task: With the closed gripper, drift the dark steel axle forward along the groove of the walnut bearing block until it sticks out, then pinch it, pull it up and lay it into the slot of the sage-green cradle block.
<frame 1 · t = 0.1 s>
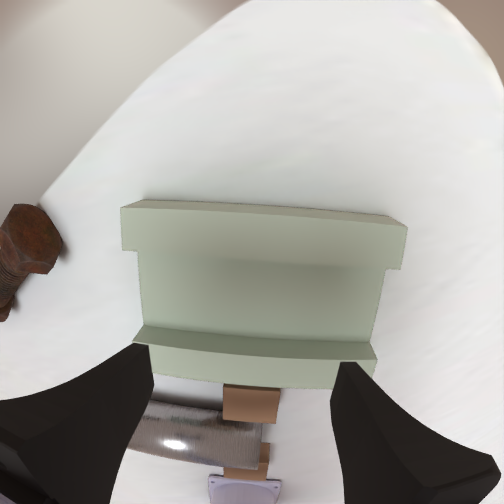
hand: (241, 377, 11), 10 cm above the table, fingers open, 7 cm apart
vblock: (259, 289, 21), on the table
bearing block: (249, 422, 25), on the table
bolt: (17, 271, 23), on the table
axle: (176, 432, 23), point 2 cm above the table
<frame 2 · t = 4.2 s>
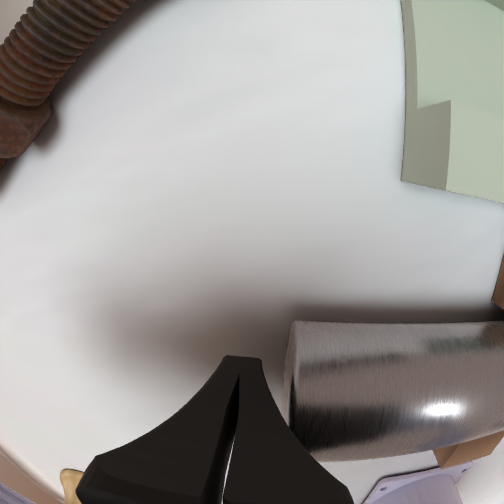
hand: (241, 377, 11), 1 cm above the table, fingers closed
bearing block: (497, 350, 12), on the table
bolt: (77, 55, 10), on the table
axle: (459, 383, 9), point 3 cm above the table, tilted 8°, touching gripper
hand bell: (102, 494, 19), on the table
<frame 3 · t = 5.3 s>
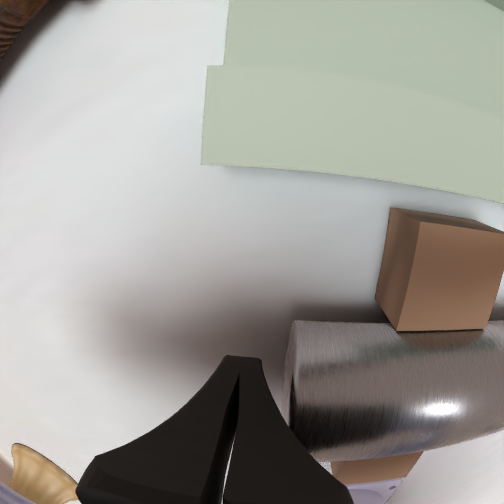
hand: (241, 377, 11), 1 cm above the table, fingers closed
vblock: (442, 50, 8), on the table
bearing block: (400, 358, 12), on the table
axle: (459, 383, 9), point 2 cm above the table, tilted 8°, touching gripper
hand bell: (47, 470, 19), on the table
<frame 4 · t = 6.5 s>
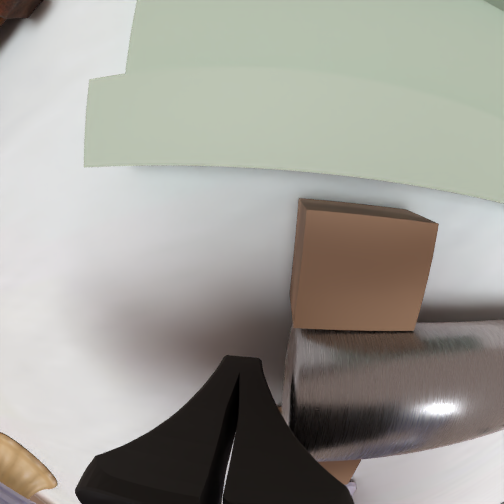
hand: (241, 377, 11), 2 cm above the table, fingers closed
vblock: (362, 28, 8), on the table
bearing block: (329, 359, 12), on the table
axle: (459, 383, 9), point 2 cm above the table, tilted 8°, touching gripper
hand bell: (24, 459, 19), on the table
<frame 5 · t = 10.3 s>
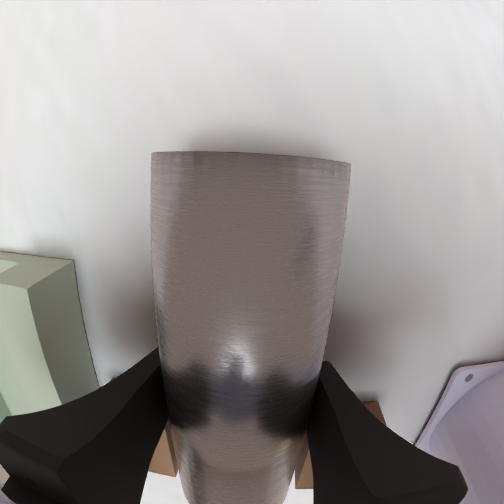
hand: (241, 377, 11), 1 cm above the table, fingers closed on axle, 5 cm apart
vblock: (29, 377, 14), on the table
bearing block: (240, 426, 14), on the table
axle: (239, 380, 10), point 2 cm above the table, touching gripper
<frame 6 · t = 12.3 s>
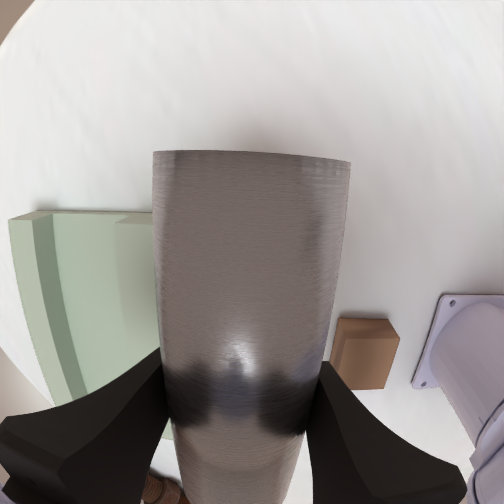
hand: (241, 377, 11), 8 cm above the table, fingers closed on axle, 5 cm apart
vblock: (107, 321, 21), on the table
bearing block: (290, 342, 20), on the table
bolt: (145, 467, 27), on the table
axle: (240, 378, 10), point 9 cm above the table, touching gripper
when the fingers open (4 cm above the table, at t = 14.5 s): axle drops 2 cm, resting on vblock.
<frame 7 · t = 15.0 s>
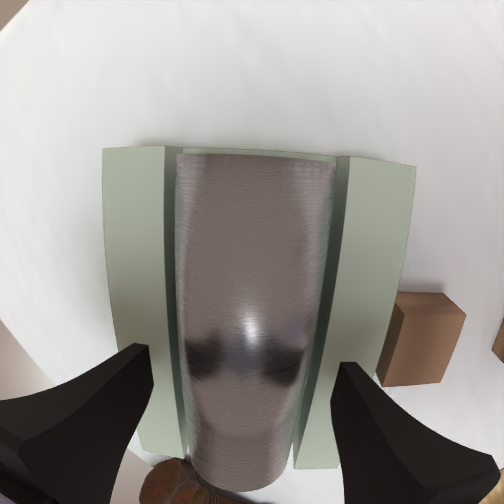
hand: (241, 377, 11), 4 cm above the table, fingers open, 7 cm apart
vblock: (250, 320, 15), on the table
bearing block: (471, 325, 15), on the table
bolt: (232, 496, 21), on the table
axle: (244, 348, 12), point 3 cm above the table, touching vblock
hand bell: (490, 483, 21), on the table
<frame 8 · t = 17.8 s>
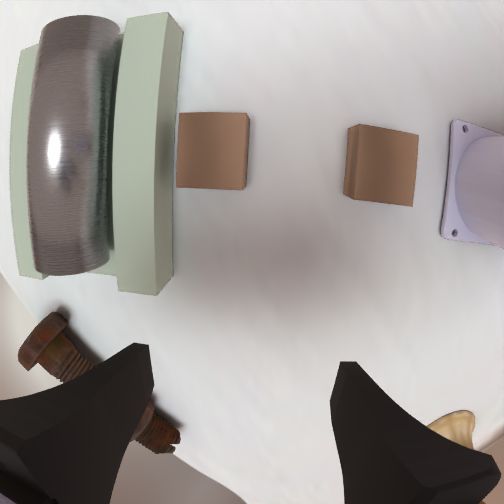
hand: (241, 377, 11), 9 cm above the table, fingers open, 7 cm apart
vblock: (95, 153, 18), on the table
bearing block: (297, 156, 18), on the table
bolt: (113, 378, 24), on the table
axle: (66, 142, 15), point 3 cm above the table, touching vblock
hand bell: (441, 436, 24), on the table
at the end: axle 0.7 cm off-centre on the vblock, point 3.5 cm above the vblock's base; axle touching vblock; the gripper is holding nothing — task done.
